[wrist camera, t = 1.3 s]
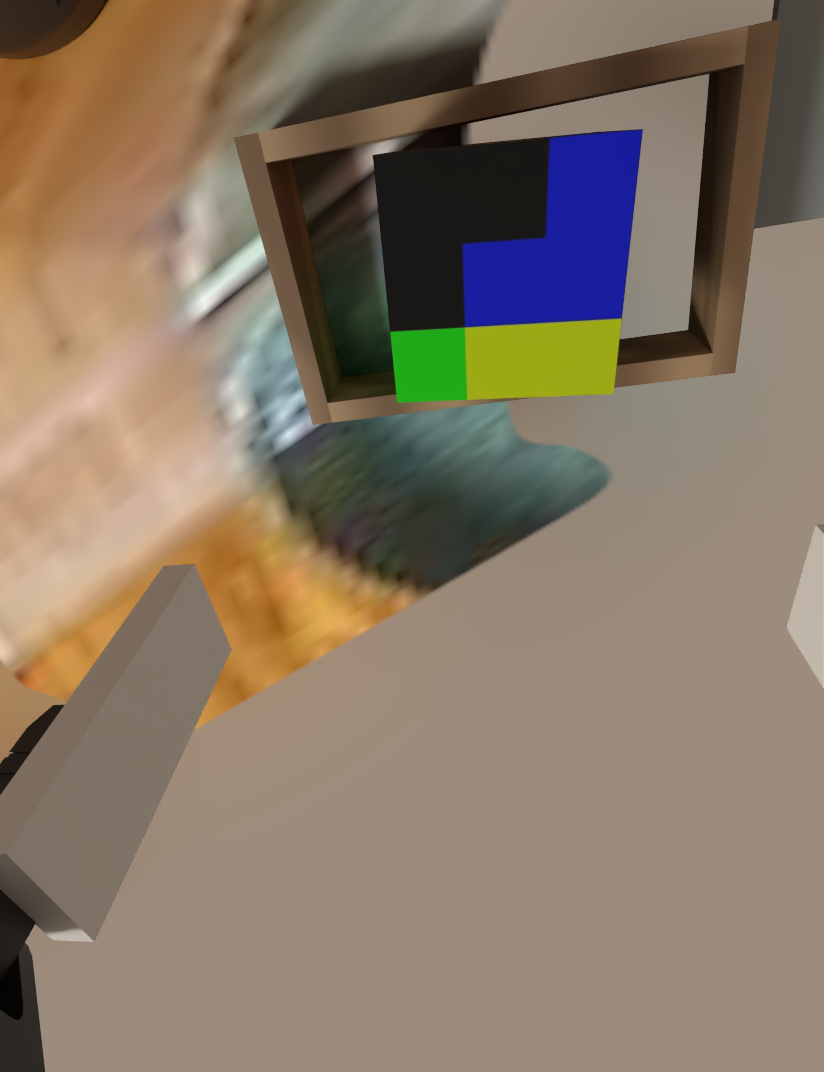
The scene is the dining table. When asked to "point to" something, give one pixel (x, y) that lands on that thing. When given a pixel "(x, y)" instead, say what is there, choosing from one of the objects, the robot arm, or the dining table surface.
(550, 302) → the puzzle toy
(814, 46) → the mat
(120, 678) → the robot arm
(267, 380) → the dining table surface
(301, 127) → the pocket frame
